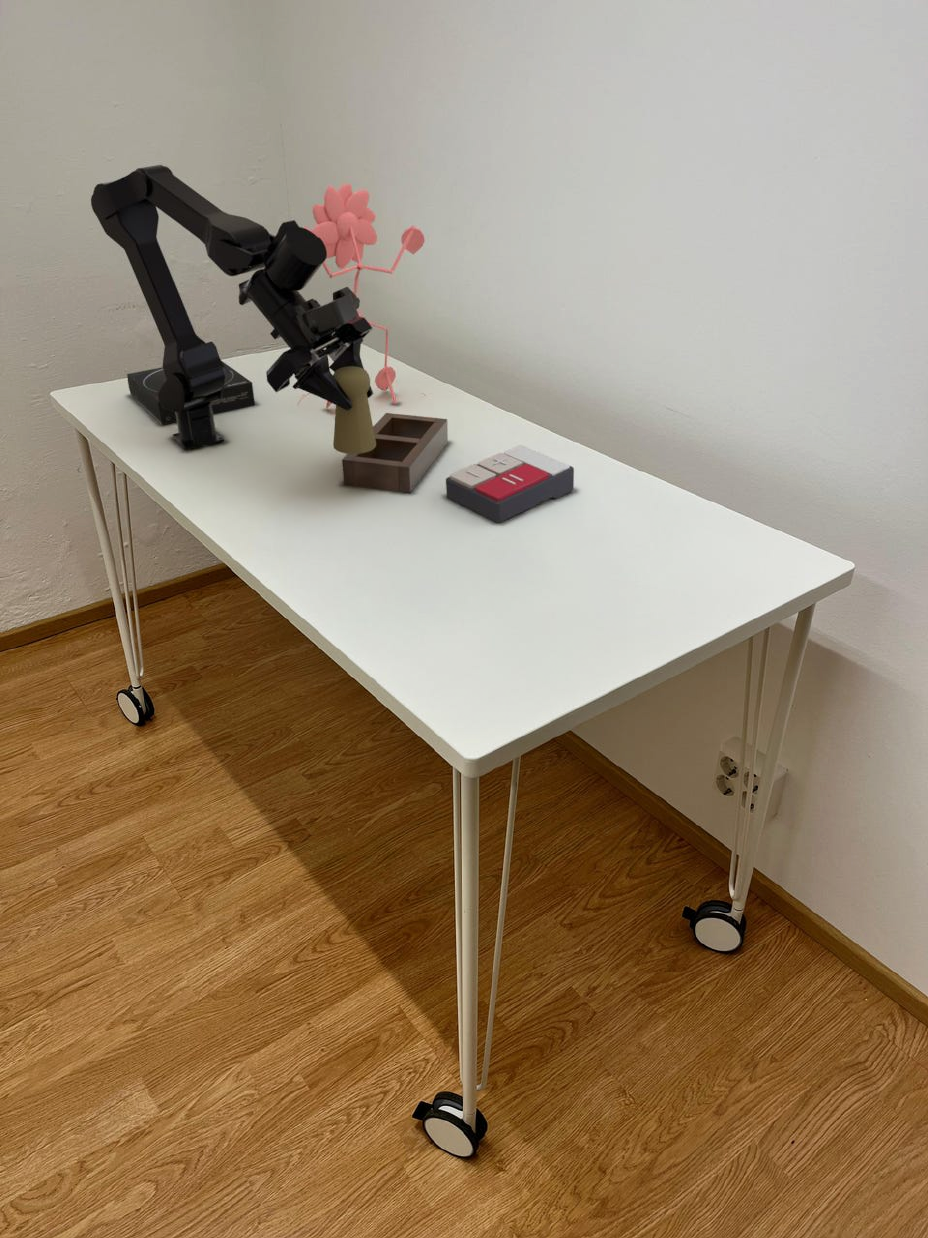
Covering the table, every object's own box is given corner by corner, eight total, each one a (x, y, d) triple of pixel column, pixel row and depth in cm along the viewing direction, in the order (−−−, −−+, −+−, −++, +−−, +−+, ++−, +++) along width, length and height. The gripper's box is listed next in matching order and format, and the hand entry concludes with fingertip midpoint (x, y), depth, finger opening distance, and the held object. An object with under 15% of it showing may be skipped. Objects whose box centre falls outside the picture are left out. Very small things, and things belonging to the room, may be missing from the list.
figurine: (438, 394, 173) (434, 180, 154) (312, 430, 160) (290, 200, 141) (388, 371, 183) (378, 168, 164) (266, 403, 170) (240, 186, 151)
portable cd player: (218, 377, 181) (215, 355, 179) (255, 404, 169) (252, 382, 167) (130, 394, 174) (125, 372, 172) (162, 425, 162) (157, 401, 160)
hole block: (343, 485, 143) (341, 459, 140) (387, 436, 158) (386, 412, 155) (410, 493, 140) (409, 467, 138) (447, 442, 155) (447, 418, 153)
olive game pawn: (334, 437, 140) (328, 362, 134) (376, 436, 141) (372, 361, 135) (332, 454, 135) (326, 377, 129) (376, 453, 136) (372, 376, 130)
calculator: (443, 473, 137) (520, 439, 145) (445, 500, 139) (521, 466, 147) (497, 499, 130) (575, 462, 138) (498, 527, 132) (574, 489, 140)
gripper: (276, 289, 120) (358, 391, 122) (357, 255, 134) (429, 347, 136) (232, 343, 127) (310, 438, 129) (313, 306, 141) (382, 392, 143)
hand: (360, 402), depth 134 cm, fingers closed on olive game pawn, 5 cm apart
